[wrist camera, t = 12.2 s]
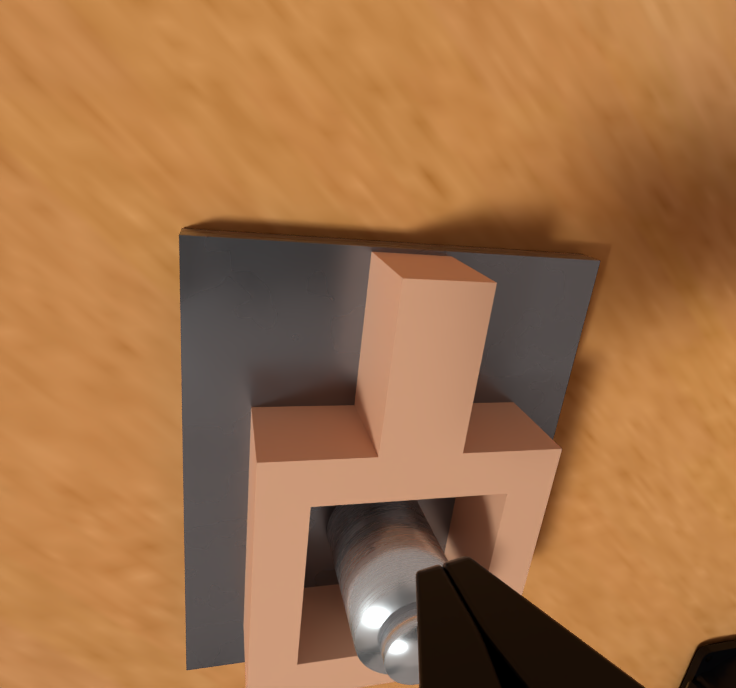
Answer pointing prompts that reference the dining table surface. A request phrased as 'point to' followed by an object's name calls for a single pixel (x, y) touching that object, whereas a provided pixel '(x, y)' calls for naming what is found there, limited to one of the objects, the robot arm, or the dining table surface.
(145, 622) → the dining table surface
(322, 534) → the base with metal peg
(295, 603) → the square ring with tab
